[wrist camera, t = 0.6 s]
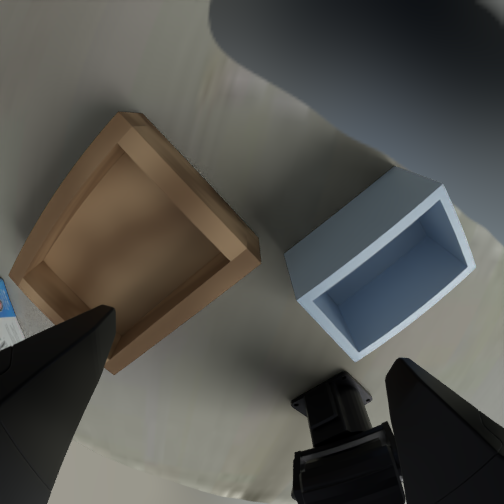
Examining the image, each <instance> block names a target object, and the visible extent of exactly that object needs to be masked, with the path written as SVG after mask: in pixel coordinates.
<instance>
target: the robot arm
mask: <svg viewBox="0 0 504 504" xmlns="http://www.w3.org/2000/svg"><path fill="white" fill-rule="evenodd" d="M115 335H116V310H115V308H114V307H111V306H108V305H104V304H102V305H99V306H97V307H95V308H93V309H90V310H88V311H86V312H84V313H81V314H79V315H77V316H75V317H73V318H70V319H68V320H66V321H64V322H62V323H59V324H57V325H55V326H53V327H51V328H48V329H46V330H44V331H42V332H40V333H37V334H35V335H33V336H31V337H29V338H27V339H24V340H22V341H20V342H18V343H16V344H14V345H13V346H9V347H7V348H5V349H3V350H0V504H47V503H48V500H49V497H50V494H51V490H52V488H53V486H54V483H55V480H56V478H57V475H58V472H59V470H60V467H61V465H62V462H63V460H64V457H65V455H66V452H67V450H68V448H69V445H70V443H71V440H72V438H73V436H74V434H75V431H76V429H77V427H78V425H79V422H80V420H81V418H82V416H83V413H84V411H85V409H86V407H87V405H88V403H89V401H90V398H91V396H92V394H93V392H94V390H95V388H96V386H97V384H98V382H99V379H100V377H101V374H102V372H103V369H104V366H105V363H106V360H107V357H108V355H109V352H110V349H111V346H112V344H113V341H114V338H115ZM343 376H344V377H343ZM385 383H386V390H387V397H388V404H389V412H390V418H391V423H392V428H393V432H394V435H393V433H392V430H391V428H390V426H389V424H388V422H387V421H386V422H384V423H382V424H381V425H379V426H376V427H374V428H372V425H371V423H370V420H369V417H368V414H367V411H366V408H365V405H366V404H367V403H369V402H371V401H372V396H371V395H370V394H369V393H368V392H367V391H366V390H365V389H364V388H363V387H362V386H361V385H360V384H359V383H358V382H357V381H356V380H355V379H354V378H353V377H352V376H351V375H350V374H349V373H348V372H345V371H344V372H341V373H339V374H338V375H336V376H334V377H333V378H331V379H329V380H328V381H326V382H324V383H323V384H321V385H319V386H317V387H316V388H314V389H312V390H310V391H309V392H307V393H305V394H303V395H301V396H300V397H298V398H296V399H294V400H292V401H291V406H292V407H293V408H294V409H296V410H297V411H299V412H300V413H302V414H303V415H305V416H306V417H307V418H308V423H309V428H310V432H311V438H312V444H313V448H312V449H308V450H305V451H298V452H295V459H294V460H293V488H292V493H291V496H292V498H293V499H294V500H296V501H297V502H298V504H404V503H405V496H406V502H407V504H504V428H503V427H502V426H500V425H499V424H497V423H496V422H494V421H493V420H491V419H490V418H489V417H487V416H486V415H485V414H483V413H482V412H481V411H478V409H476V408H475V407H474V406H472V405H471V404H470V403H468V402H467V401H466V400H464V399H463V398H462V397H460V396H459V395H458V394H456V393H455V392H454V391H452V390H451V389H450V388H448V387H447V386H446V385H444V384H443V383H442V382H440V381H439V380H438V379H436V378H435V377H433V376H432V375H431V374H429V373H428V372H427V371H425V370H424V369H423V368H421V367H420V366H419V365H417V364H416V363H415V362H413V361H412V360H411V359H409V358H398V359H396V361H395V362H394V364H393V365H392V367H391V369H390V370H389V372H388V373H387V375H386V378H385ZM401 482H403V483H404V489H405V494H404V491H403V487H402V484H401Z"/></svg>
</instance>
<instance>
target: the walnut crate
mask: <svg viewBox="0 0 504 504" xmlns="http://www.w3.org/2000/svg"><path fill="white" fill-rule="evenodd" d="M260 264H261V256H260V247H259V238H258V237H257V236H256V235H255V233H254V232H253V231H252V230H251V229H250V228H249V227H248V226H247V225H246V224H245V223H244V221H243V220H242V219H241V218H240V217H239V216H238V215H237V214H236V213H235V212H234V211H233V210H232V208H231V207H230V206H229V205H228V204H227V203H226V202H225V201H224V200H223V199H222V198H221V197H220V195H219V194H218V193H217V192H216V191H215V190H214V189H213V188H212V187H211V186H210V185H209V184H208V183H207V181H206V180H205V179H204V178H203V177H202V176H201V175H200V174H199V173H198V172H197V171H196V170H195V169H194V168H193V167H192V165H191V164H190V163H189V162H188V161H187V160H186V159H185V158H184V157H183V156H182V155H181V154H180V153H179V152H178V151H177V149H176V148H175V147H174V146H173V145H172V144H171V143H170V142H169V141H168V140H167V139H166V138H165V137H164V136H163V135H162V134H161V133H160V131H159V130H158V129H157V128H156V127H155V126H154V125H153V124H152V123H151V122H150V121H149V120H148V119H147V118H146V117H145V116H144V115H143V114H142V113H129V112H118V113H117V114H116V115H115V116H114V117H113V118H112V119H111V120H110V122H109V123H108V124H107V125H106V126H105V127H104V129H103V130H102V131H101V132H100V133H99V135H98V136H97V137H96V138H95V139H94V141H93V142H92V143H91V144H90V146H89V147H88V148H87V149H86V151H85V152H84V153H83V155H82V156H81V157H80V158H79V160H78V161H77V162H76V164H75V165H74V166H73V168H72V169H71V171H70V172H69V173H68V175H67V176H66V178H65V179H64V180H63V182H62V183H61V185H60V186H59V188H58V189H57V191H56V192H55V194H54V195H53V197H52V198H51V200H50V201H49V203H48V204H47V206H46V208H45V209H44V211H43V212H42V214H41V216H40V217H39V219H38V221H37V222H36V224H35V226H34V228H33V229H32V231H31V233H30V235H29V236H28V238H27V240H26V242H25V244H24V245H23V247H22V249H21V251H20V253H19V255H18V257H17V259H16V261H15V263H14V265H13V267H12V269H11V271H10V273H9V275H8V276H9V277H10V278H11V279H12V280H13V281H14V282H15V284H16V285H17V286H18V287H19V288H20V289H21V290H22V291H23V293H24V294H25V295H26V296H27V297H28V298H29V299H30V300H31V301H32V302H33V303H34V304H35V305H36V306H37V307H38V308H39V309H40V310H41V311H42V312H43V313H44V314H45V315H46V316H47V317H48V318H49V319H50V320H51V321H52V322H53V323H54V324H55V325H57V324H59V323H62V322H64V321H66V320H68V319H70V318H73V317H75V316H77V315H79V314H81V313H84V312H86V311H88V310H90V309H93V308H95V307H97V306H99V305H102V304H104V305H108V306H111V307H114V308H115V310H116V335H115V338H114V341H113V344H112V346H111V349H110V352H109V355H108V357H107V360H106V363H105V366H104V368H106V369H107V370H108V371H109V372H111V373H112V374H113V375H115V374H116V373H118V372H119V371H120V370H122V369H123V368H124V367H126V366H127V365H129V364H130V363H131V362H133V361H134V360H135V359H137V358H138V357H139V356H141V355H142V354H143V353H145V352H146V351H147V350H149V349H150V348H151V347H153V346H154V345H155V344H157V343H158V342H159V341H161V340H162V339H163V338H165V337H166V336H167V335H169V334H170V333H171V332H173V331H174V330H175V329H177V328H178V327H179V326H180V325H182V324H183V323H184V322H186V321H187V320H188V319H190V318H191V317H192V316H194V315H195V314H196V313H198V312H199V311H200V310H202V309H203V308H204V307H205V306H207V305H208V304H209V303H211V302H212V301H213V300H215V299H216V298H217V297H219V296H220V295H221V294H222V293H224V292H225V291H226V290H228V289H229V288H230V287H232V286H233V285H234V284H235V283H237V282H238V281H239V280H241V279H242V278H243V277H245V276H246V275H247V274H248V273H250V272H251V271H252V270H254V269H255V268H256V267H257V266H259V265H260Z"/></svg>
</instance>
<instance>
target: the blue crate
mask: <svg viewBox="0 0 504 504" xmlns="http://www.w3.org/2000/svg"><path fill="white" fill-rule="evenodd" d="M284 257H285V260H286V264H287V267H288V271H289V275H290V278H291V282H292V286H293V289H294V293H295V297H296V300H297V301H298V303H299V304H300V305H301V306H302V307H303V308H304V309H305V310H306V311H307V312H308V313H309V314H310V315H311V316H312V317H313V318H314V319H315V321H316V322H317V323H318V324H319V325H320V326H321V327H322V328H323V329H324V330H325V331H326V332H327V333H328V334H329V335H330V336H331V337H332V338H333V340H334V341H335V342H336V343H337V344H338V345H339V346H340V347H341V348H342V349H343V350H344V351H345V352H346V353H347V354H348V355H349V356H350V358H351V359H352V360H353V361H354V362H357V361H358V360H360V359H361V358H363V357H364V356H366V355H367V354H369V353H370V352H372V351H373V350H375V349H376V348H377V347H379V346H380V345H382V344H383V343H385V342H386V341H387V340H389V339H390V338H392V337H393V336H394V335H396V334H397V333H398V332H400V331H401V330H403V329H404V328H405V327H406V326H408V325H409V324H410V323H412V322H413V321H414V320H416V319H417V318H418V317H419V316H421V315H422V314H423V313H424V312H426V311H427V310H428V309H429V308H431V307H432V306H433V305H434V304H436V303H437V302H438V301H439V300H440V299H441V298H443V297H444V296H445V295H446V294H447V293H448V292H450V291H451V290H452V289H453V288H454V287H455V286H456V285H458V284H459V283H460V282H461V281H462V280H463V279H464V278H465V277H466V276H467V275H469V274H470V273H471V272H472V271H473V270H474V269H475V268H476V265H475V262H474V259H473V256H472V253H471V250H470V247H469V245H468V242H467V239H466V237H465V234H464V231H463V229H462V226H461V224H460V221H459V219H458V216H457V214H456V212H455V209H454V207H453V205H452V202H451V200H450V198H449V196H448V194H447V191H446V189H445V187H444V185H443V184H442V183H440V182H437V181H434V180H432V179H429V178H427V177H424V176H421V175H419V174H416V173H413V172H410V171H407V170H405V169H402V168H399V167H396V166H394V167H392V168H391V169H390V170H389V171H388V172H386V173H385V174H384V175H383V176H381V177H380V178H379V179H378V180H376V181H375V182H374V183H373V184H372V185H370V186H369V187H368V188H367V189H365V190H364V191H363V192H362V193H360V194H359V195H358V196H357V197H355V198H354V199H353V200H352V201H350V202H349V203H348V204H347V205H345V206H344V207H343V208H342V209H340V210H339V211H338V212H337V213H335V214H334V215H333V216H331V217H330V218H329V219H328V220H326V221H325V222H324V223H323V224H321V225H320V226H319V227H318V228H316V229H315V230H314V231H312V232H311V233H310V234H309V235H307V236H306V237H305V238H304V239H302V240H301V241H300V242H298V243H297V244H296V245H295V246H293V247H292V248H291V249H289V250H288V251H287V252H286V253H284Z"/></svg>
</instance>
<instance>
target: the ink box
mask: <svg viewBox="0 0 504 504" xmlns="http://www.w3.org/2000/svg"><path fill="white" fill-rule="evenodd" d="M24 339H25V337H24V335H23V333H22V330H21V328H20V325H19V323H18V321H17V318H16V315H15V313H14V310H13V307H12V305H11V302H10V299H9V296H8V294H7V291H6V288H5V284H4V282H3V279H2V278H0V350H3V349H5V348H7V347H9V346H13V345H14V344H16V343H18V342H20V341H22V340H24Z"/></svg>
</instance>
